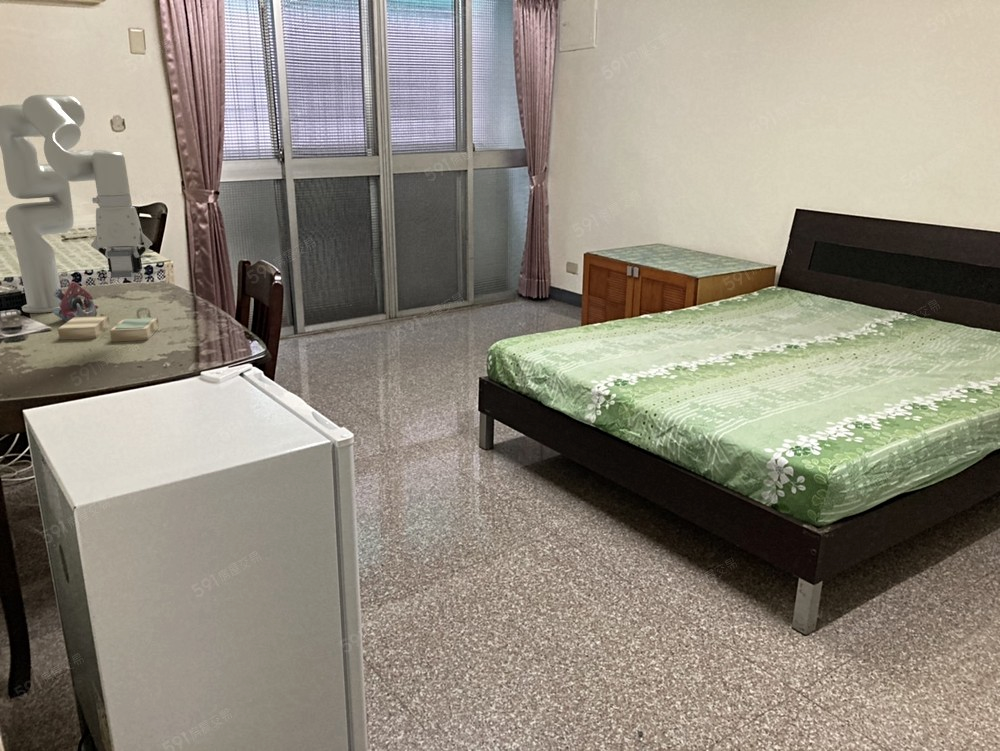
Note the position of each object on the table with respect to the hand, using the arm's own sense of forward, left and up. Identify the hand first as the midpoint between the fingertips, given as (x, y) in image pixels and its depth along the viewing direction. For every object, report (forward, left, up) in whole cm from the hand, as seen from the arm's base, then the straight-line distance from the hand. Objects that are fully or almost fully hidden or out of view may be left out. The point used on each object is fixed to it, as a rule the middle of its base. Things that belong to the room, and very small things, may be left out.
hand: (126, 271), depth 200 cm
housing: (0, 0, -1) cm, 1 cm away
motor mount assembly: (-21, -21, -18) cm, 34 cm away
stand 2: (0, 0, -17) cm, 17 cm away
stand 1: (-4, -14, -17) cm, 23 cm away
